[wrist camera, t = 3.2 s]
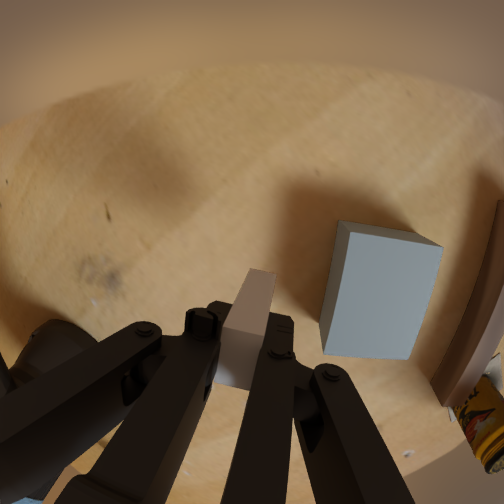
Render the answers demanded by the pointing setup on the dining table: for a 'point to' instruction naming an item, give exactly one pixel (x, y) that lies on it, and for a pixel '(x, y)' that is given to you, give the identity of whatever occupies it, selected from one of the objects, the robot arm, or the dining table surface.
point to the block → (377, 291)
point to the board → (476, 326)
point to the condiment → (485, 418)
